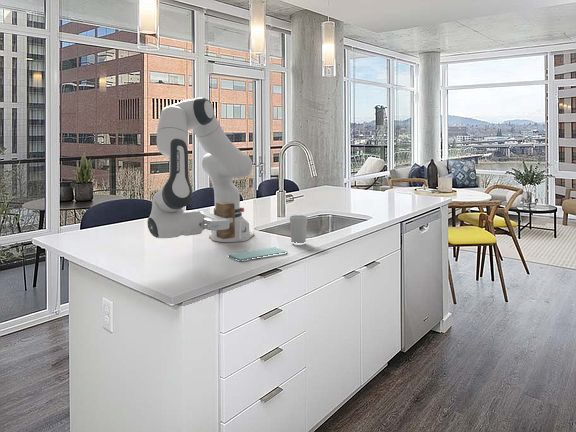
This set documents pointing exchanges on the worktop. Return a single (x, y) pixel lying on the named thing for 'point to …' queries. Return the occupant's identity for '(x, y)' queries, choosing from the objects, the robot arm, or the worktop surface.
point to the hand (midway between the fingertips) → (227, 218)
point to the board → (256, 253)
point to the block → (226, 211)
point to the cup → (298, 228)
